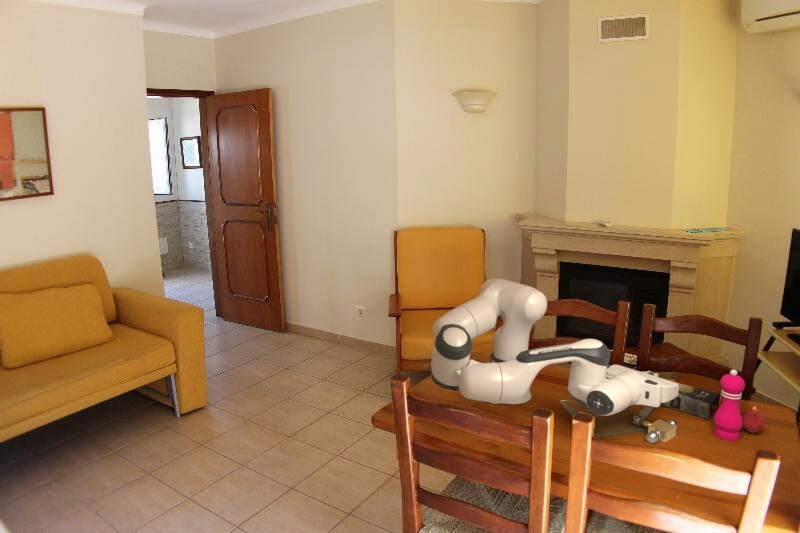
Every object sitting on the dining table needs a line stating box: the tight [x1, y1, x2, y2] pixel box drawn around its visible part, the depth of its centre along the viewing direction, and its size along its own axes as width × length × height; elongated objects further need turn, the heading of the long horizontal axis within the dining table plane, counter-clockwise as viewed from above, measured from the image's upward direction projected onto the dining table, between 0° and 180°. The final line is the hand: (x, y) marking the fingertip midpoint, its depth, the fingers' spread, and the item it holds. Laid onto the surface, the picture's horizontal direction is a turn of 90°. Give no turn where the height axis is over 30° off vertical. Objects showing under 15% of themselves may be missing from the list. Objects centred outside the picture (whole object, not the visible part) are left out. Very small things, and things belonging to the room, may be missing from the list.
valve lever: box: [631, 378, 677, 427], centre depth 175 cm, size 2×2×23 cm
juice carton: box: [660, 382, 722, 420], centre depth 181 cm, size 20×10×6 cm, turn 46°
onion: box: [741, 406, 766, 434], centre depth 164 cm, size 6×6×8 cm
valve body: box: [640, 418, 679, 444], centre depth 165 cm, size 9×14×3 cm, turn 129°
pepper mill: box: [713, 369, 746, 442], centre depth 161 cm, size 7×7×20 cm
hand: (653, 374), depth 170 cm, fingers closed
